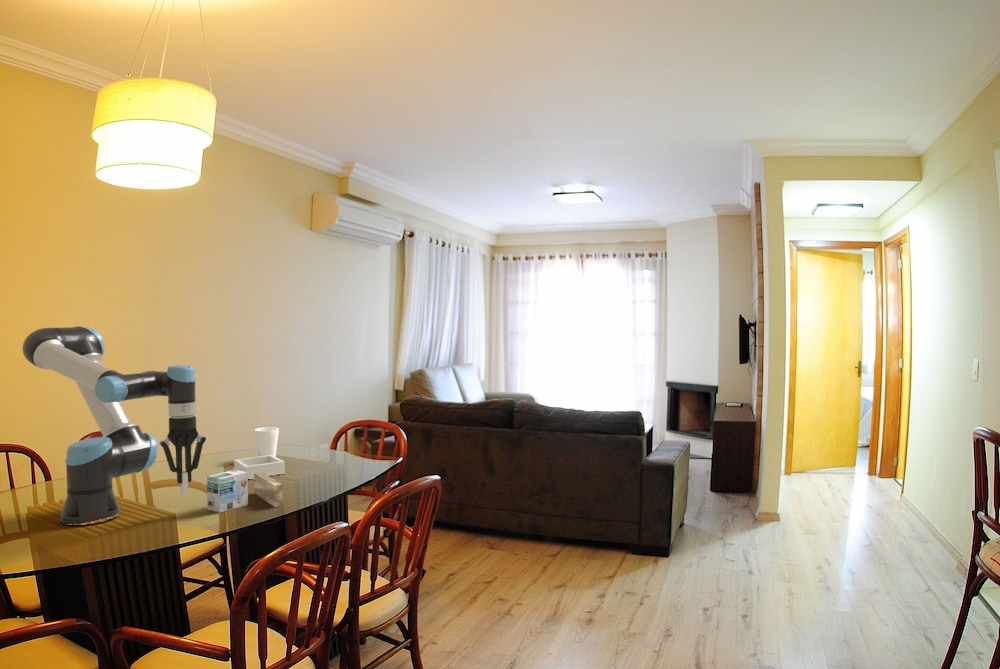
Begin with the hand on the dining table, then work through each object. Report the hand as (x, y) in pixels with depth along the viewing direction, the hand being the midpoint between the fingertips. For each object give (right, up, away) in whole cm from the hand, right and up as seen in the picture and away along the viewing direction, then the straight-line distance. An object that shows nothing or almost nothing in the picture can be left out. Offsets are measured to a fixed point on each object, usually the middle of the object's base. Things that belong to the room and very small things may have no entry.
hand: (184, 493), depth 205 cm
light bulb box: (+10, -7, +8) cm, 15 cm away
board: (+20, -6, +17) cm, 27 cm away
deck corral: (+5, -5, +51) cm, 52 cm away
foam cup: (0, -4, +74) cm, 74 cm away
